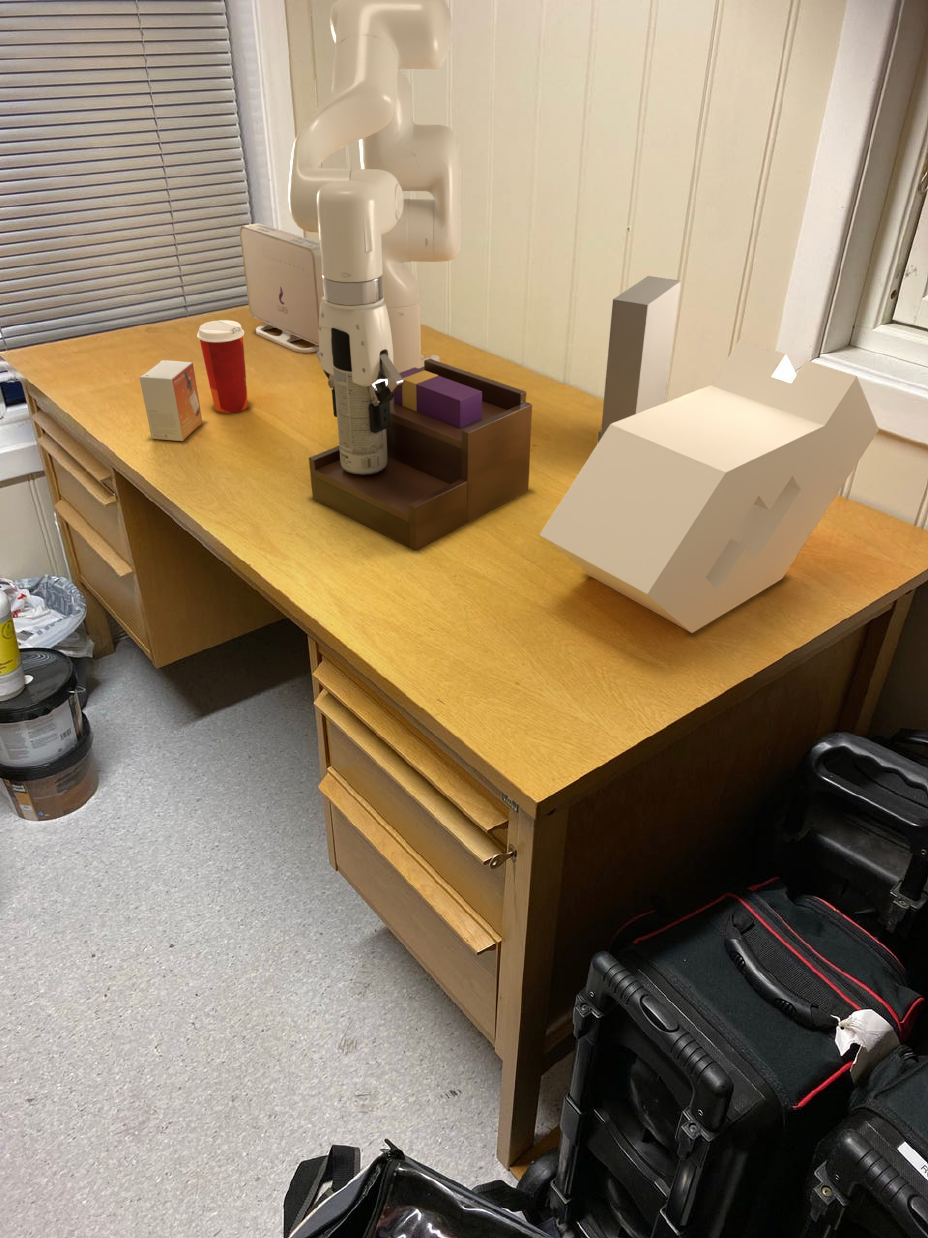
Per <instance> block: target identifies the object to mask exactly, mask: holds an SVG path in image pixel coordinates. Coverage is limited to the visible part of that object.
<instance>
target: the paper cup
mask: <svg viewBox="0 0 928 1238" xmlns="http://www.w3.org/2000/svg"><path fill="white" fill-rule="evenodd" d="M244 335H245V331H244V329H242V325H241V324H240V323H239V322H238V321H235V320H228V319H221V320H212V321H207V322H205V323H202V324H201V325H200V326H199V328H198V332H197V335H196V337H197V339H198V340H199V342H200V346H201V352H202V356H203V357H202V358H203V362H204V365H205V371H206V374H207V380H208V384H209V389H210V392H211V398H212V402H213V406H214V410H215V411H217V412H218V413H221V414H235V413H240V412H243V411H245V410H246V409H247V408H248V406H249V405H248V387H247V374H246V360H245V358H246V357H245V346H244Z"/></svg>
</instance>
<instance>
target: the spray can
mask: <svg viewBox="0 0 928 1238" xmlns="http://www.w3.org/2000/svg"><path fill="white" fill-rule="evenodd" d="M331 336H332V337H331V339H332V354H333V370H334V384H335V397H336V410H337V417H336V421H337V435H338V446H339V449H340V461H341V466H342V468H343V469H344V470H345V471H347V472H349V473H352V474H362V475H365V474H374V473H376V472H379V471H381V470H383V469H384V468H385V467H386V465H387V461H388V455H387V434H386V429H384V430H382V431H379V432H377V433H373V432H371V430H370V418H369V404H372V401H371V398H370V395H369V392H368V389H367V387H363V386H360V385H357V384H355V383H353V382H352V364H351V352H350V337H349V334H348V333H346V332H344V331H341V330H338V329H335V328H331ZM378 378H381V372H380V371H379V373H378V377H377V379H378ZM375 386H376V389H377V392H378V393H379V392H380V391H381V390H382V389H381V386H380V383H379V384H376V385H375Z"/></svg>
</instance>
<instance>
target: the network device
mask: <svg viewBox="0 0 928 1238" xmlns="http://www.w3.org/2000/svg"><path fill="white" fill-rule="evenodd" d="M239 240H240V247H241V255H242V263H243V271H244V279H245V287H246V294H247V302H248V303H247V304H248V309H249V313H250V315H251V317H252V318H253V319H255V320H258V321H260V322H262V323H264V324H263V325H259V326H257V327H256V328H255V333H256V335H258V336H260V337H262V338H265V339H266V340H269V341H271V342H273V343H276V344H278V345H281V346H283V347H284V348H287V349H289V350H292V351H293V352H296V353H303V354H308V353H309V354H310V353H315V352H317V351H318V350H319V313H320V304H321V298H322V297H323V296H324V288H323V274H322V263H321V250H320V241H319V242H318V241H315V240H313V239H309V238H307V237H303V236H300V235H297V234H294V233H291V232H288V231H286V230H285V231H284V230H282V229H278V228H276V227H272V226H269V225H266V224H264V223H259V222H256V223H252V224H251V223H250V224H247V225H246V224H245V225H241V226H240V227H239ZM274 328H277V329H278V330H280V331H282V332H281V334H280V335H273V334H271V333H268V332H266V331H267V330H271V329H274ZM298 340H304V341H307V342H309V343H311V344H313V346H310V347H300V346H297V345H295V344H293V343H291V342H294V341H298Z"/></svg>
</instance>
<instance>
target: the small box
mask: <svg viewBox="0 0 928 1238" xmlns="http://www.w3.org/2000/svg"><path fill="white" fill-rule="evenodd" d="M139 382H140V383H139V384H140V387H141V393H142V397H143V403H144V407H145V411H146V412H145V413H146V417H147V423H148V428H149V431H150V437H151V439H152V440H163V441H177V442H184V441H185V439H187V438H188V437H189V436H190V435H191V434H192V433H193V432H194V431H195V430H196V429H197V428H199V427H200V426H201V425H202V424H203V417H202V416H203V415H202V411H201V410H202V409H201V404H200V398H199V392H198V386H197V380H196V373H195V367H194V362H192V361H181V360H180V361H179V360H167V359H162V360H160V361H159V362H158V363H157V364H155V365H154V366H153V367H152V368H151V369H149V370H147V372H145V373H144V374H142V375H140V376H139Z"/></svg>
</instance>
